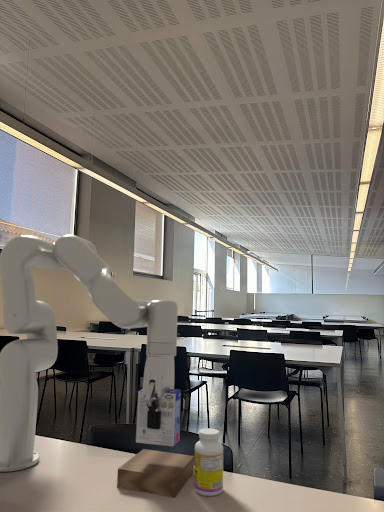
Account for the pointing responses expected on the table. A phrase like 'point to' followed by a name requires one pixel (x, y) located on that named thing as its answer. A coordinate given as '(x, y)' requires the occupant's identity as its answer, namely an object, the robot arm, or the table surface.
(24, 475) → the table surface
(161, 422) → the ink cartridge box
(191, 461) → the walnut block
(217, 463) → the supplement bottle
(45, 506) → the table surface
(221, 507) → the table surface
